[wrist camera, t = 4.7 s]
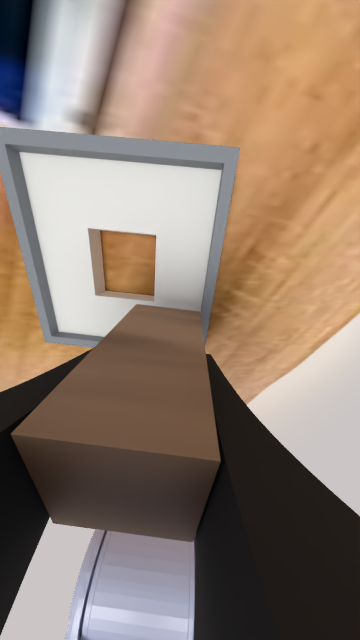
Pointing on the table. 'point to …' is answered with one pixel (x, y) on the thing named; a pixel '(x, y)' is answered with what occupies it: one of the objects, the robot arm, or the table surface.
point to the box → (114, 222)
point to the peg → (129, 431)
